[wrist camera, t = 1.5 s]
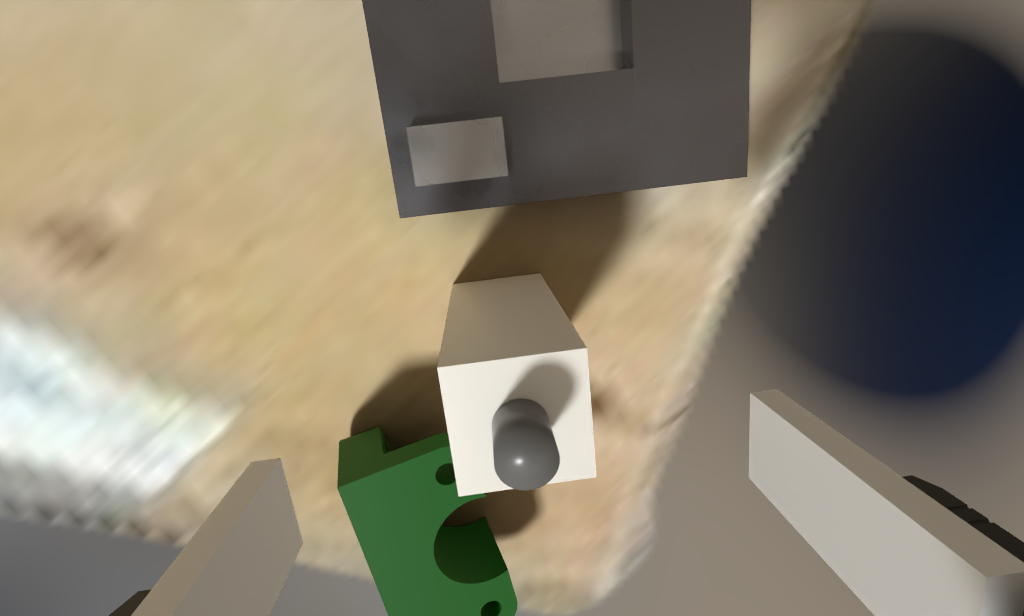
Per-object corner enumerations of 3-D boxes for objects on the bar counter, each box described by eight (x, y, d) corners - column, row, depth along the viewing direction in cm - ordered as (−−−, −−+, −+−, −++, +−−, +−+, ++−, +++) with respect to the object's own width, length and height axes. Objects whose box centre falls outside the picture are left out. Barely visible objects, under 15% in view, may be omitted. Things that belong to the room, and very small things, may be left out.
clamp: (472, 493, 34) (525, 631, 27) (386, 529, 32) (419, 684, 25) (441, 371, 26) (502, 520, 19) (327, 411, 25) (350, 587, 18)
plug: (453, 284, 25) (431, 397, 13) (540, 273, 25) (603, 374, 13) (465, 365, 26) (455, 541, 14) (548, 354, 27) (613, 519, 14)
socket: (337, -192, 19) (315, -248, 17) (730, -227, 20) (767, -285, 18) (406, 214, 24) (397, 219, 21) (725, 176, 25) (755, 176, 22)
